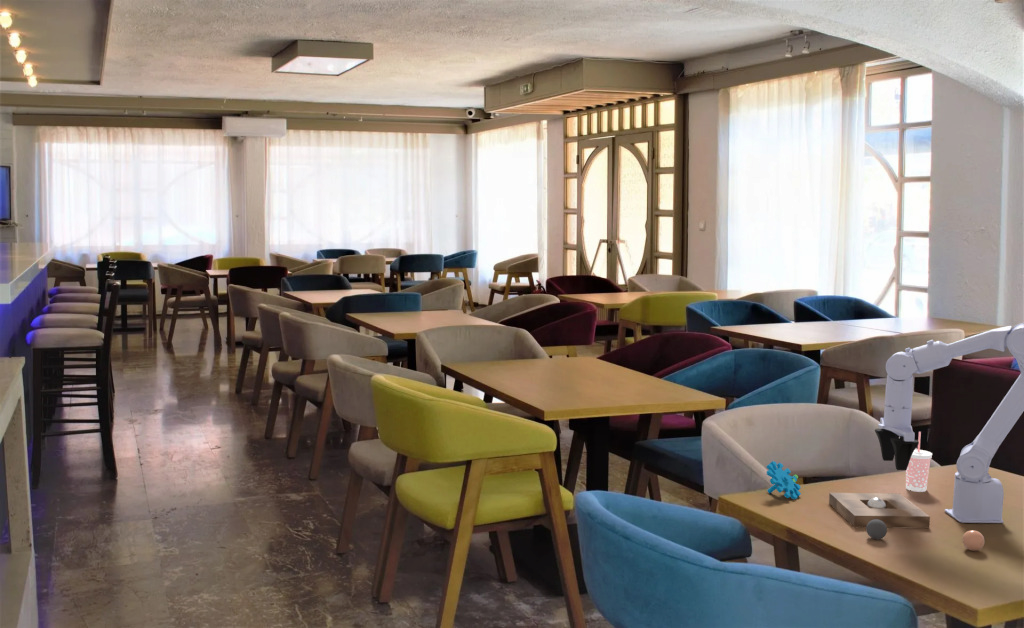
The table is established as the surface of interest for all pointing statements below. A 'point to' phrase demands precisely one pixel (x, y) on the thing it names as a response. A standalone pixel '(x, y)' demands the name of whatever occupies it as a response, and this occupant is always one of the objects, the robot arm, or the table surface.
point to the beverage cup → (918, 469)
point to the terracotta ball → (973, 540)
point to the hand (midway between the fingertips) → (894, 465)
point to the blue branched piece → (783, 480)
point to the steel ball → (876, 503)
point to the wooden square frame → (879, 510)
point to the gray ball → (876, 529)
